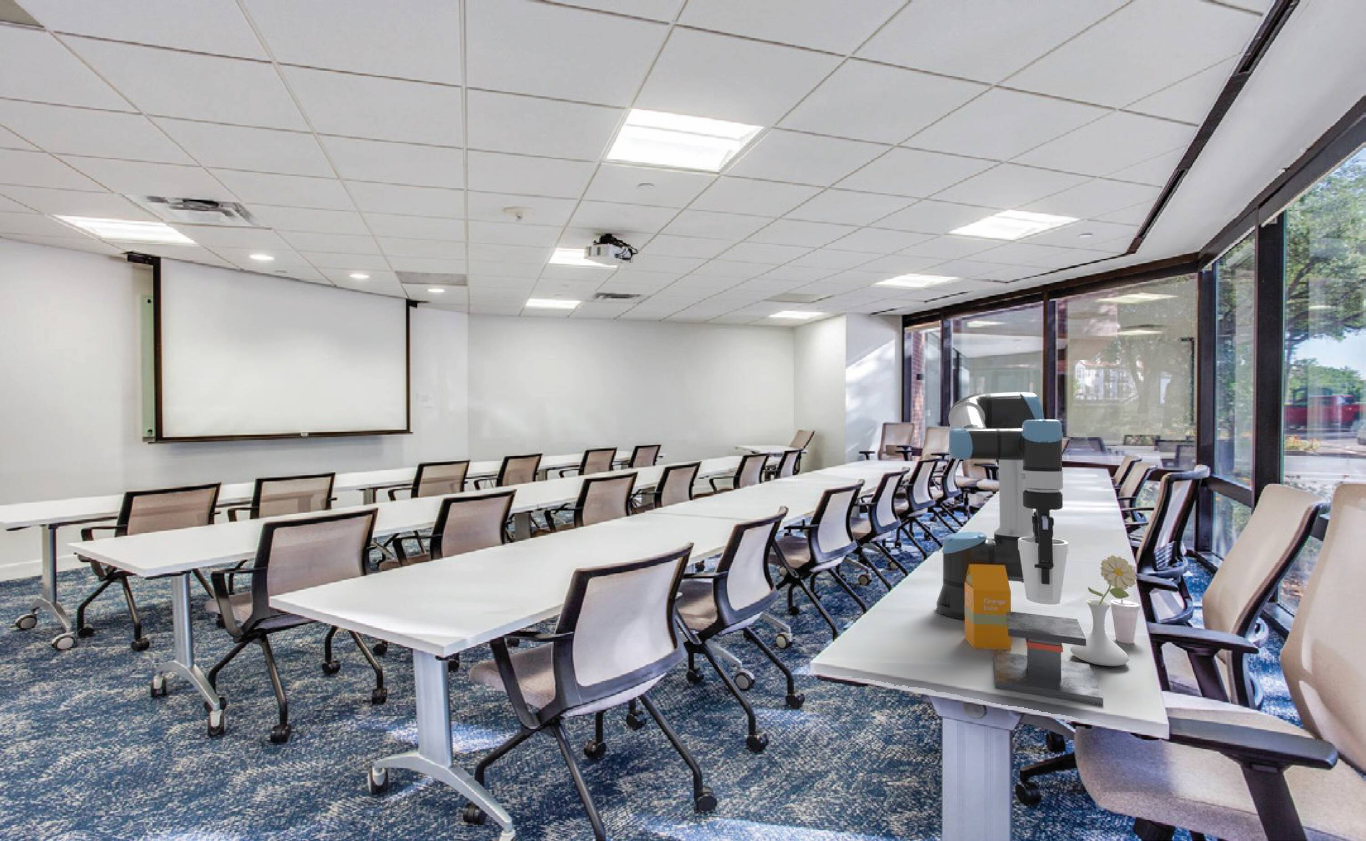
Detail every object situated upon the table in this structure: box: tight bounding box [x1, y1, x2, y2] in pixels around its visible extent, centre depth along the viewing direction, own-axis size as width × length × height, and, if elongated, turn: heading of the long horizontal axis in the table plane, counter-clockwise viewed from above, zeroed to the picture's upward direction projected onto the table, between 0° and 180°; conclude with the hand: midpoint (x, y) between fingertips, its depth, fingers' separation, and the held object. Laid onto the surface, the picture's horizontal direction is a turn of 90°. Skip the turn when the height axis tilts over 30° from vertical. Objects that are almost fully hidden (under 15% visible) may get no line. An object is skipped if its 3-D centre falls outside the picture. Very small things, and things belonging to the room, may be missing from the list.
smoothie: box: [1109, 598, 1141, 644], centre depth 158 cm, size 6×6×14 cm
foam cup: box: [1018, 537, 1069, 605], centre depth 135 cm, size 10×9×13 cm
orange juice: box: [964, 564, 1012, 651], centre depth 156 cm, size 8×9×20 cm
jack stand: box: [993, 610, 1104, 706], centre depth 135 cm, size 19×19×12 cm
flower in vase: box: [1070, 554, 1138, 667], centre depth 144 cm, size 13×11×25 cm
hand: (1043, 592), depth 135 cm, fingers closed on foam cup, 9 cm apart
